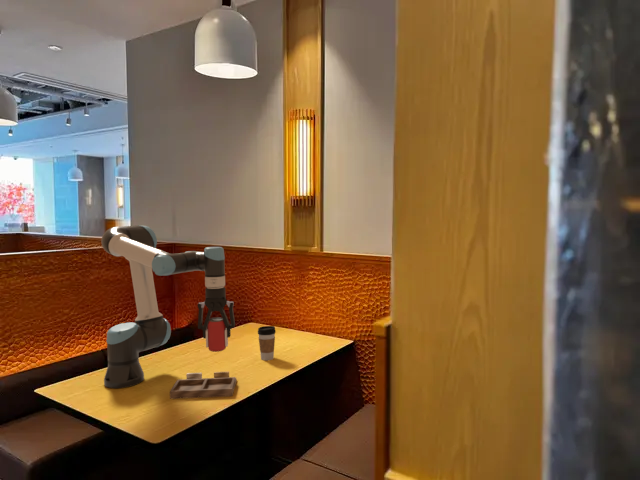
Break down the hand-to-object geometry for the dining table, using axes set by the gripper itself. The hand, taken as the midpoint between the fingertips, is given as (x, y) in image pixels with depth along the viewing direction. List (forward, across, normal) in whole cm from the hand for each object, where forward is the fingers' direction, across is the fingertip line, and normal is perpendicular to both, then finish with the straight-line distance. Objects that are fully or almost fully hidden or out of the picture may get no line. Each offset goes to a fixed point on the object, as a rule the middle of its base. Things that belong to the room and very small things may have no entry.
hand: (217, 345), depth 173 cm
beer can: (+2, 0, 0) cm, 2 cm away
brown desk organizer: (+18, -6, +2) cm, 19 cm away
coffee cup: (+18, +18, +36) cm, 44 cm away
